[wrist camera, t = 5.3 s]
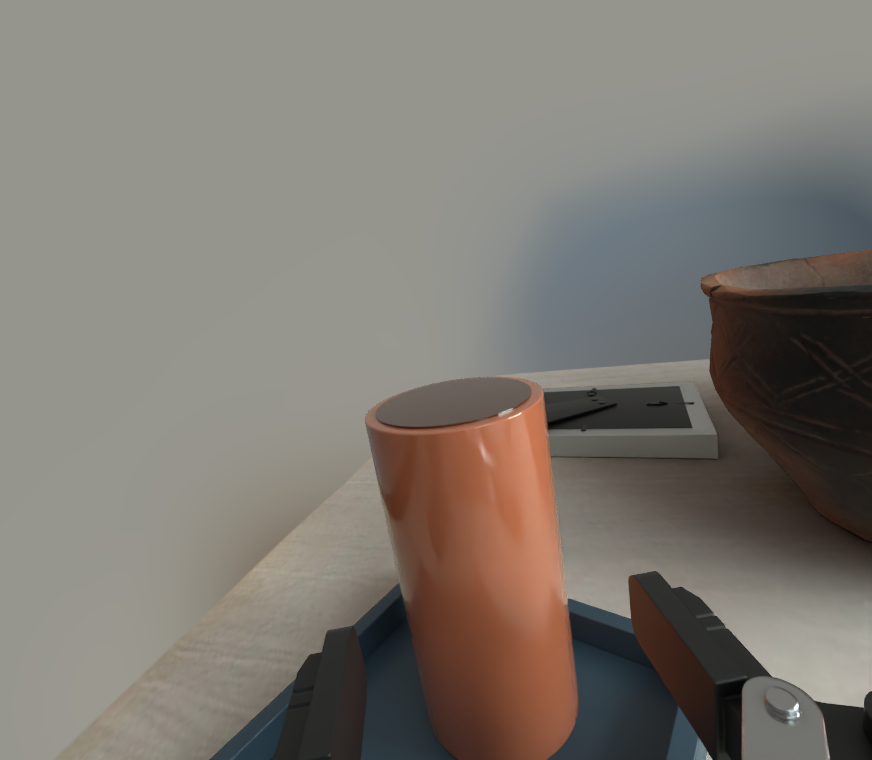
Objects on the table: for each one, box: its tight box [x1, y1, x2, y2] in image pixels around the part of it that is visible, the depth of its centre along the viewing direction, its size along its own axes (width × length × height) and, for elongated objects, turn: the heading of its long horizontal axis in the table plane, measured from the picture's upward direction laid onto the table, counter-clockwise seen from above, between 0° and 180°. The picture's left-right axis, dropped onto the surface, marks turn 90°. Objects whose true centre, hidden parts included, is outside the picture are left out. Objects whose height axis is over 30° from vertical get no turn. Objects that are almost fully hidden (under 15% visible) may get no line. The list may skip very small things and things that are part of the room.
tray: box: [210, 584, 707, 760], centre depth 17 cm, size 15×16×2 cm
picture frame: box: [543, 381, 718, 459], centre depth 47 cm, size 16×3×21 cm
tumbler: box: [365, 377, 579, 760], centre depth 17 cm, size 6×6×13 cm
